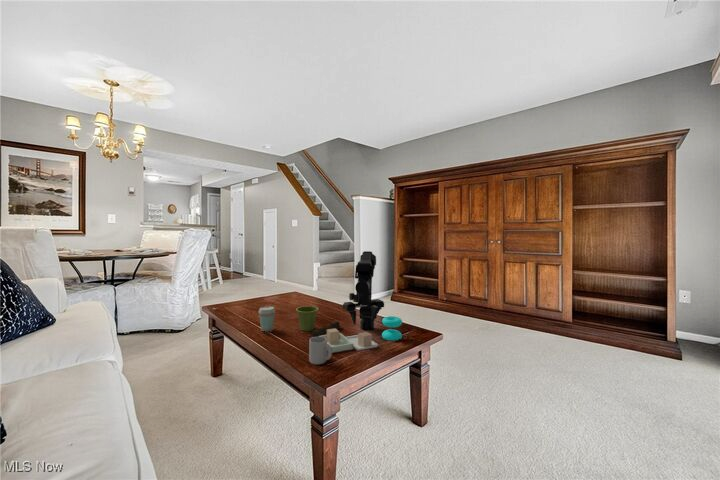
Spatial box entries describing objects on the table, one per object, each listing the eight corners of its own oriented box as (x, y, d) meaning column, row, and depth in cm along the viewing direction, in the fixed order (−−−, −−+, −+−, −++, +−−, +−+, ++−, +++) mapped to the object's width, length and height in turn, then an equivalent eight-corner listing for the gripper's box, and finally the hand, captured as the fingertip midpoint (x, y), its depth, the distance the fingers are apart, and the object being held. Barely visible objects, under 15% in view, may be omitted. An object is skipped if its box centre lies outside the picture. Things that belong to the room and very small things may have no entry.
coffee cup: (277, 328, 166) (277, 306, 166) (271, 333, 158) (271, 310, 157) (262, 327, 167) (262, 305, 167) (255, 332, 159) (255, 309, 158)
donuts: (390, 314, 160) (406, 318, 153) (389, 333, 160) (405, 338, 154) (378, 318, 153) (394, 322, 146) (377, 338, 153) (393, 343, 146)
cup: (315, 356, 131) (315, 335, 130) (335, 360, 127) (336, 339, 126) (305, 362, 124) (305, 341, 124) (326, 367, 120) (326, 345, 120)
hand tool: (316, 339, 151) (316, 330, 151) (311, 337, 153) (311, 328, 153) (343, 330, 165) (343, 321, 165) (337, 328, 168) (338, 320, 168)
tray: (363, 336, 155) (363, 334, 155) (378, 347, 141) (378, 345, 141) (343, 339, 150) (343, 337, 150) (357, 351, 136) (357, 348, 136)
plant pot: (291, 331, 162) (291, 310, 161) (303, 324, 173) (304, 305, 172) (310, 334, 157) (311, 312, 157) (322, 327, 168) (322, 307, 168)
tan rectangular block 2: (365, 343, 145) (366, 331, 144) (371, 346, 141) (371, 334, 141) (358, 345, 142) (358, 333, 142) (363, 348, 138) (363, 336, 138)
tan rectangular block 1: (335, 339, 149) (335, 328, 148) (338, 342, 145) (338, 331, 144) (326, 340, 147) (326, 329, 147) (329, 344, 143) (330, 332, 142)
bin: (340, 338, 152) (340, 332, 151) (353, 350, 138) (353, 343, 137) (318, 342, 147) (319, 335, 147) (330, 354, 133) (330, 347, 133)
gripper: (373, 285, 152) (373, 316, 152) (338, 288, 144) (338, 320, 145) (384, 289, 142) (384, 322, 142) (347, 292, 134) (347, 327, 135)
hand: (363, 323), depth 141 cm, fingers open, 9 cm apart
